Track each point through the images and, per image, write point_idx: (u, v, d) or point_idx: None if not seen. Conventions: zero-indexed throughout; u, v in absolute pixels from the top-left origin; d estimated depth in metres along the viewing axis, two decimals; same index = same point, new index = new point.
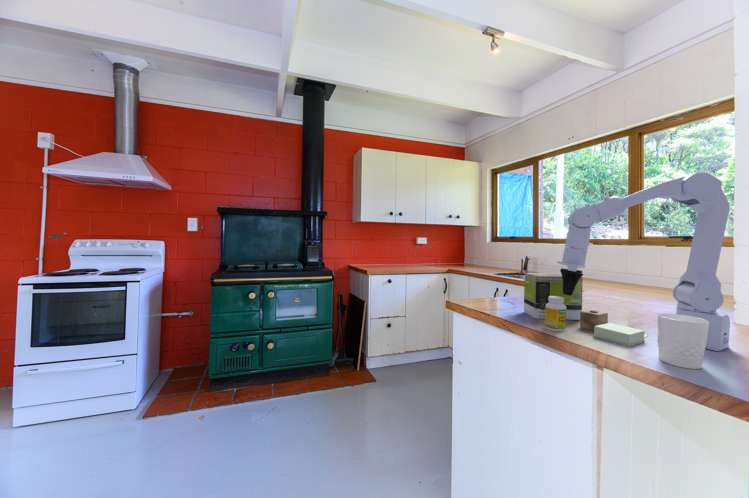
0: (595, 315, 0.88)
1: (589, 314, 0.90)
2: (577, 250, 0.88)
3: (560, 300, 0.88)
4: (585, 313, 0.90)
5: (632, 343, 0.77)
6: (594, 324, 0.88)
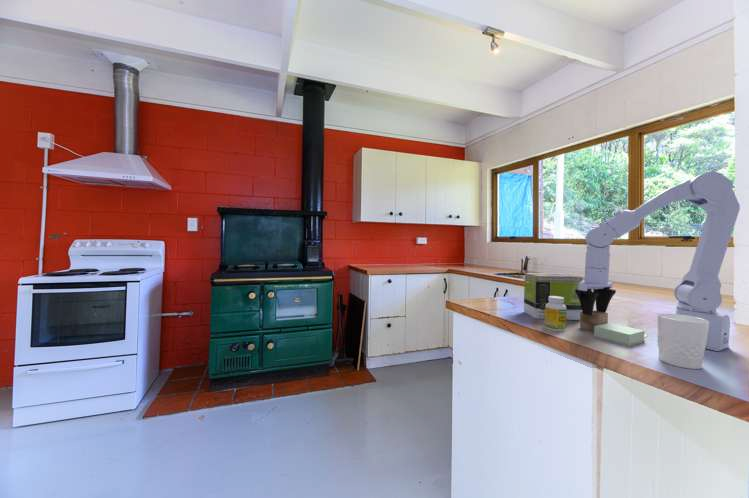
0: (595, 315, 0.88)
1: None
2: (593, 269, 0.88)
3: (560, 300, 0.88)
4: None
5: (632, 343, 0.77)
6: (594, 324, 0.88)
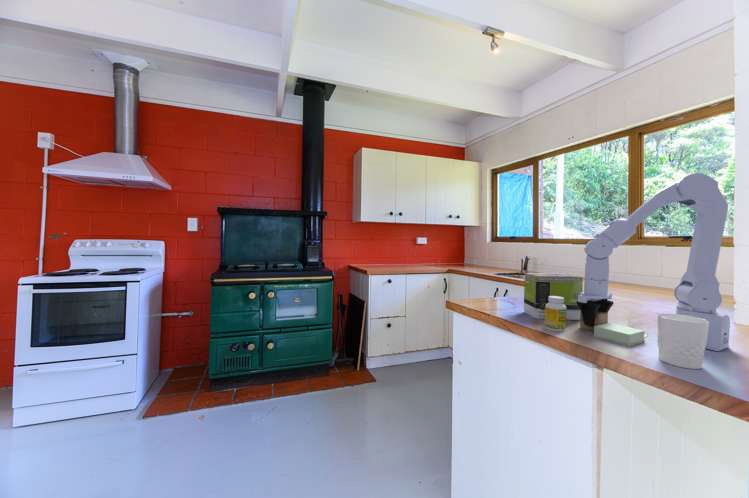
0: None
1: None
2: (592, 281, 0.89)
3: (560, 300, 0.88)
4: None
5: (632, 343, 0.77)
6: (594, 324, 0.88)
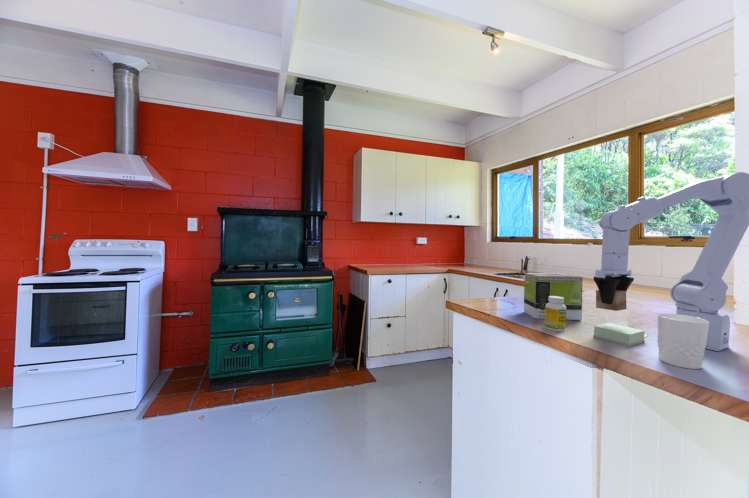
0: None
1: None
2: (611, 255, 0.82)
3: (560, 300, 0.88)
4: None
5: (632, 343, 0.77)
6: (612, 302, 0.82)
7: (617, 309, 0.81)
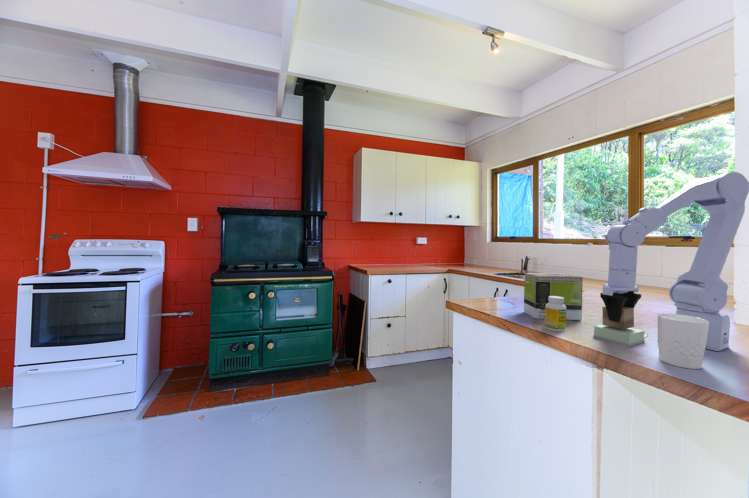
0: None
1: None
2: (618, 271, 0.79)
3: (560, 300, 0.88)
4: None
5: (632, 343, 0.77)
6: None
7: (625, 327, 0.79)
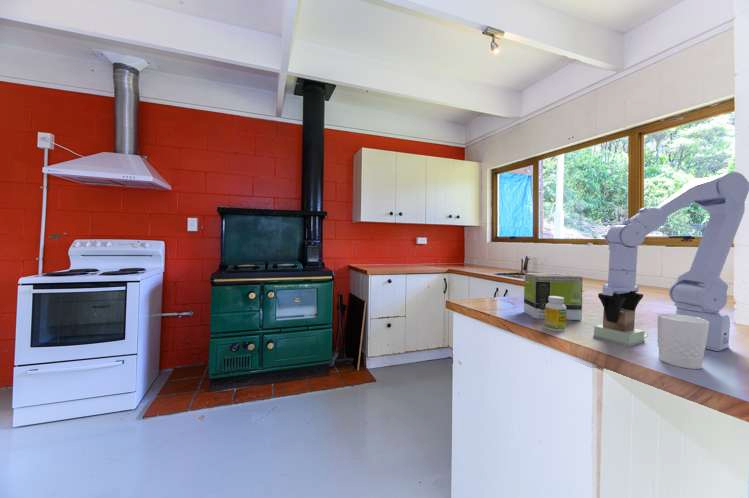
0: (621, 313, 0.79)
1: None
2: (618, 272, 0.79)
3: (560, 300, 0.88)
4: None
5: (632, 343, 0.77)
6: (620, 323, 0.79)
7: (625, 330, 0.79)
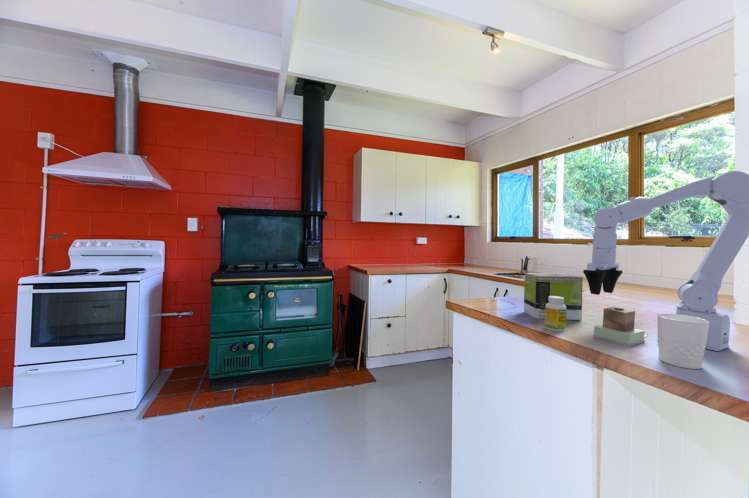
0: (621, 313, 0.79)
1: (614, 312, 0.81)
2: (601, 250, 0.90)
3: (560, 300, 0.88)
4: (609, 310, 0.81)
5: (632, 343, 0.77)
6: (620, 323, 0.79)
7: (625, 330, 0.79)
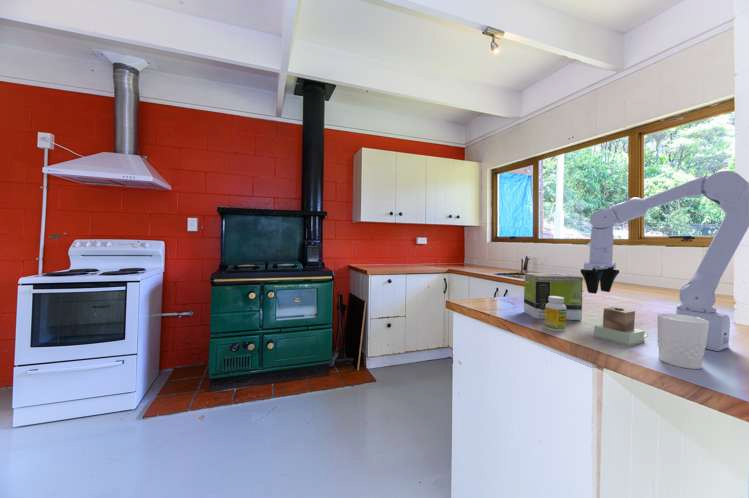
0: (621, 313, 0.79)
1: (614, 312, 0.81)
2: (597, 250, 0.93)
3: (560, 300, 0.88)
4: (609, 310, 0.81)
5: (632, 343, 0.77)
6: (620, 323, 0.79)
7: (625, 330, 0.79)
